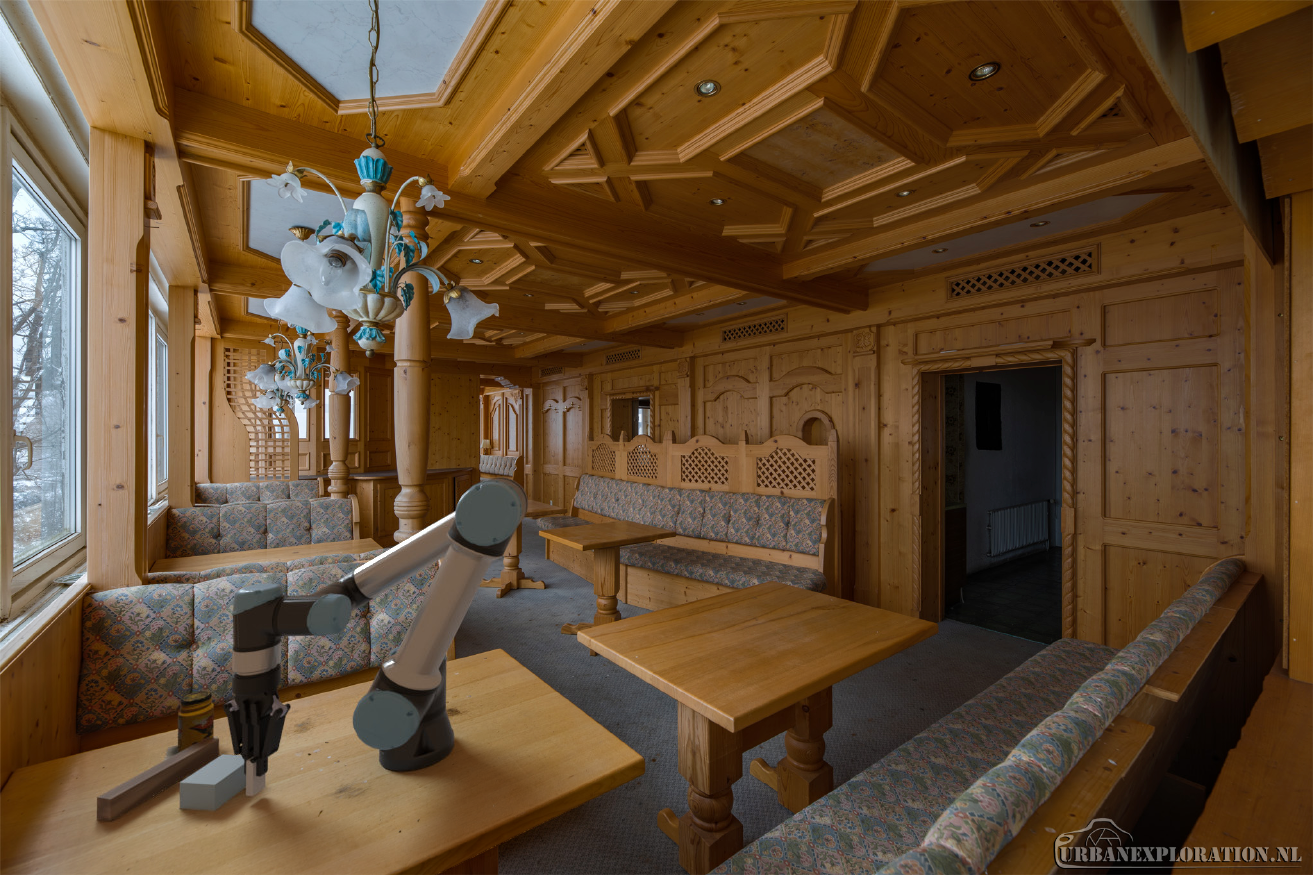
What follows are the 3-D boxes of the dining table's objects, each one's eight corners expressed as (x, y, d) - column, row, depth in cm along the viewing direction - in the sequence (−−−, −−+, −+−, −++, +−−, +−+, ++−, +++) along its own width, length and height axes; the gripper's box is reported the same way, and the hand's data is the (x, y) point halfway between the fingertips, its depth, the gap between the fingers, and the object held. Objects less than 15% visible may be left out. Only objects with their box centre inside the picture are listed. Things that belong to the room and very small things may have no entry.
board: (218, 757, 116) (219, 738, 116) (110, 821, 97) (110, 799, 97) (207, 755, 117) (207, 737, 117) (96, 819, 97) (96, 797, 97)
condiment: (213, 752, 118) (213, 697, 118) (161, 765, 113) (162, 708, 114) (217, 737, 124) (218, 685, 124) (168, 748, 120) (169, 694, 120)
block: (254, 781, 109) (254, 756, 109) (214, 811, 100) (214, 784, 100) (222, 779, 109) (222, 754, 109) (179, 809, 100) (179, 782, 100)
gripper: (303, 662, 106) (301, 782, 106) (246, 656, 108) (244, 775, 108) (269, 678, 98) (267, 808, 98) (209, 672, 101) (207, 799, 100)
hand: (255, 791), depth 103 cm, fingers closed
